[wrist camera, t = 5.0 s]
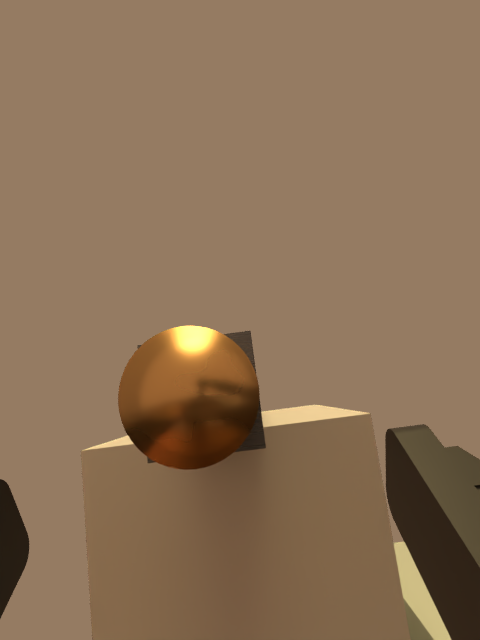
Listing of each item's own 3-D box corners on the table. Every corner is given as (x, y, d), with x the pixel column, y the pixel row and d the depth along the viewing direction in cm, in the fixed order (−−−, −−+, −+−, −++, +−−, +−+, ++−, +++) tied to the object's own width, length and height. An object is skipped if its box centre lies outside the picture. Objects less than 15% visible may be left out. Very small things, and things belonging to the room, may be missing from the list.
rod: (258, 412, 33) (252, 372, 33) (268, 460, 9) (249, 317, 9) (218, 417, 33) (214, 377, 33) (124, 478, 9) (112, 335, 9)
